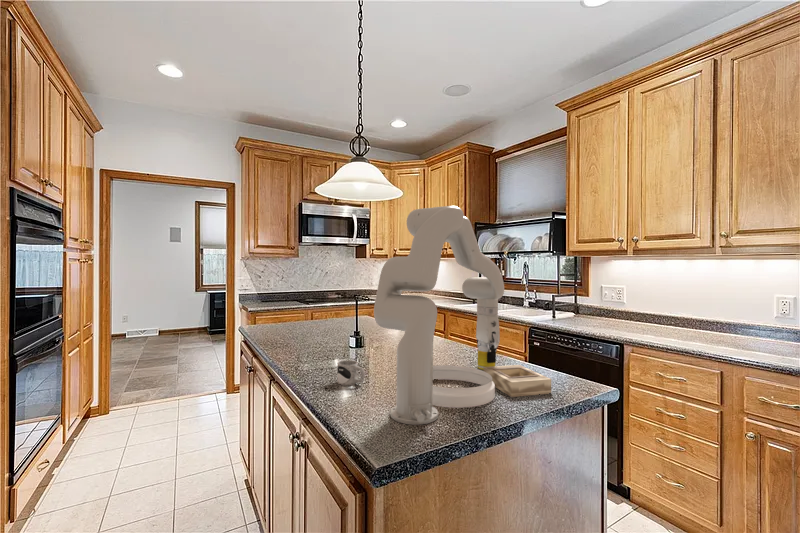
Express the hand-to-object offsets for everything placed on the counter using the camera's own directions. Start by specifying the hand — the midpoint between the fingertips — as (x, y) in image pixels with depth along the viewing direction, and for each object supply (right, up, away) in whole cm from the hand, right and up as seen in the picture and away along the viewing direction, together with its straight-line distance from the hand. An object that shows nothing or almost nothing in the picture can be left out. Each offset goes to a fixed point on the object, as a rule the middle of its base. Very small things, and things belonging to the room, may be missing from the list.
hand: (486, 359), depth 143 cm
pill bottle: (0, -4, 0) cm, 4 cm away
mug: (-48, -5, -13) cm, 50 cm away
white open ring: (-16, -6, -20) cm, 26 cm away
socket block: (+6, -5, -14) cm, 17 cm away
